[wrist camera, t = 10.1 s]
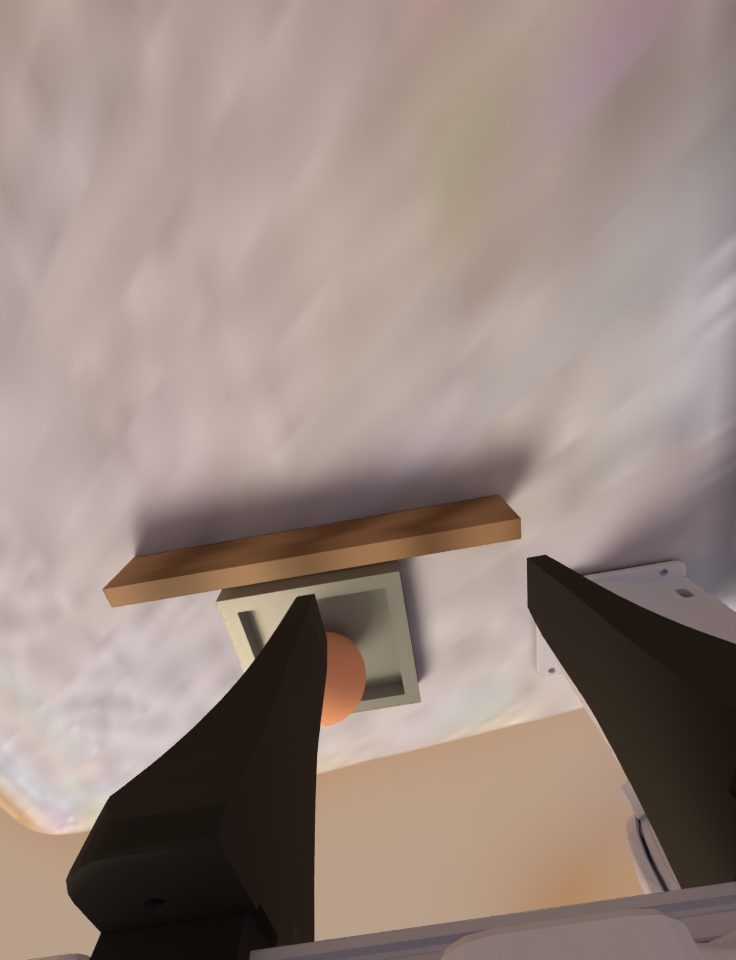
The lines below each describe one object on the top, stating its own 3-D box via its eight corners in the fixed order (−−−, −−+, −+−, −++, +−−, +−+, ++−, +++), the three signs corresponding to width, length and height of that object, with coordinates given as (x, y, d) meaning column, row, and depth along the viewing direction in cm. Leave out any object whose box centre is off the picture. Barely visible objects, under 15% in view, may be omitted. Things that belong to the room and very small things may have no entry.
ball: (357, 608, 24) (358, 675, 19) (370, 665, 25) (374, 739, 21) (281, 621, 24) (263, 690, 19) (299, 677, 25) (287, 753, 21)
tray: (396, 557, 23) (399, 571, 21) (417, 684, 27) (421, 702, 25) (223, 587, 23) (215, 602, 22) (270, 708, 27) (265, 726, 26)
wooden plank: (498, 494, 21) (520, 518, 19) (499, 512, 22) (521, 538, 19) (133, 557, 22) (102, 589, 19) (141, 574, 22) (112, 607, 20)
